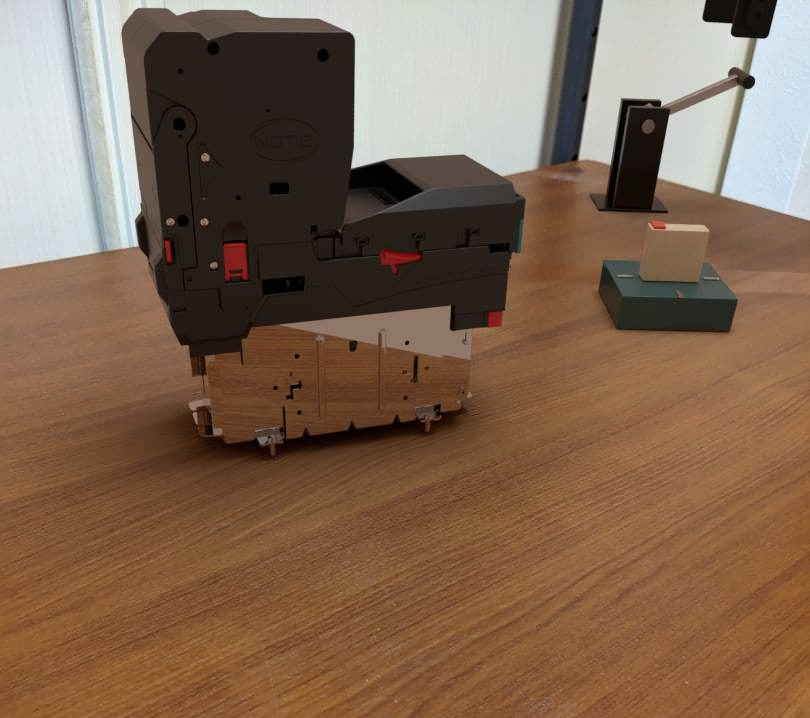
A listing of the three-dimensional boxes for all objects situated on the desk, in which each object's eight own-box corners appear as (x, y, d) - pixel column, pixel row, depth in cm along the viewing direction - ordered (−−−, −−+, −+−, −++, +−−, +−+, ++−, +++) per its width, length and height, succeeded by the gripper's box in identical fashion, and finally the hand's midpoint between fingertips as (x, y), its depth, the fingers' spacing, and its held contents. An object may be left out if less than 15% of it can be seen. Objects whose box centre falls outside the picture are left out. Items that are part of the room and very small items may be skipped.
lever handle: (741, 81, 103) (737, 59, 101) (757, 91, 98) (753, 68, 97) (627, 131, 106) (622, 110, 104) (638, 142, 101) (632, 121, 100)
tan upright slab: (693, 275, 83) (705, 222, 80) (698, 282, 82) (710, 228, 79) (638, 273, 83) (648, 220, 80) (642, 280, 81) (652, 226, 79)
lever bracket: (654, 205, 111) (674, 99, 104) (666, 221, 106) (688, 110, 99) (588, 203, 111) (604, 96, 104) (597, 219, 106) (614, 107, 99)
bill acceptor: (506, 424, 66) (551, 26, 51) (182, 474, 59) (124, 32, 44) (450, 362, 74) (475, 2, 59) (158, 400, 67) (103, 4, 52)
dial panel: (701, 293, 88) (709, 260, 86) (730, 332, 80) (739, 297, 79) (597, 290, 88) (603, 257, 86) (616, 329, 80) (623, 294, 78)
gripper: (878, -220, 66) (806, 46, 76) (798, -204, 80) (746, 19, 90) (775, -226, 66) (716, 41, 76) (713, -209, 80) (670, 15, 90)
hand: (733, 29), depth 83 cm, fingers open, 9 cm apart
